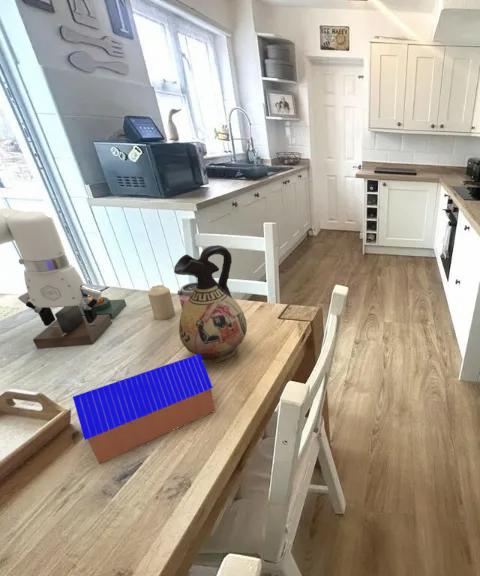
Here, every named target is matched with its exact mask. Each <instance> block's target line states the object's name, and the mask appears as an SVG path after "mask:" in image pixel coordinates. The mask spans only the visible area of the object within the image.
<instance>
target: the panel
mask: <svg viewBox="0 0 480 576" xmlns="http://www.w3.org/2000/svg"><path fill="white" fill-rule="evenodd" d="M83 319H84V320H83V321H82V322H81V323H80V324H79V325H78V326H77V327H76V328H75V329H74V330H73V331H71V332H62V330H61V328H60V325H59V323H58V321H57V319H55V321H53V322H52V323H51V324H50V325H48V326H46V328H44V330H42V331H41V332H40V333H39V334H38V335H36V336H35V337H34V338H33V339H32V341H33V343H34V345H35V347H36V349H37V350H43V349H56V348H65V347H78V346H92V345H94V344H95V343H96V342H97V341H98V339H100V337H101V336H102V335H103V334H104V333H105V332H106V331H107V329H108V328H109V327H110V326H111V325H112V324H113V321H112V320H111V318H110V315H109V314H107V315H97V318H96V319H95V320H94V321H93V322H92V323H88V322H87V320H86V317H85V316H83Z"/></svg>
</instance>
